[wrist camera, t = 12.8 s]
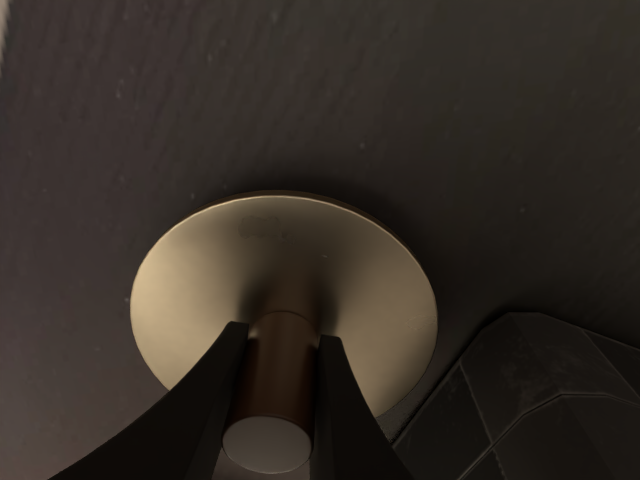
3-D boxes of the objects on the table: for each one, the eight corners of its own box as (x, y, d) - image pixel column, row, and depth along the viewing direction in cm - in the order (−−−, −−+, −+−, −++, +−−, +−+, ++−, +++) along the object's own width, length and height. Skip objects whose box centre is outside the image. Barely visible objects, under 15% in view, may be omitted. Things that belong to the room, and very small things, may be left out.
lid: (148, 396, 17) (80, 530, 12) (135, 155, 12) (11, 230, 7) (390, 428, 17) (411, 568, 13) (473, 212, 12) (557, 314, 8)
